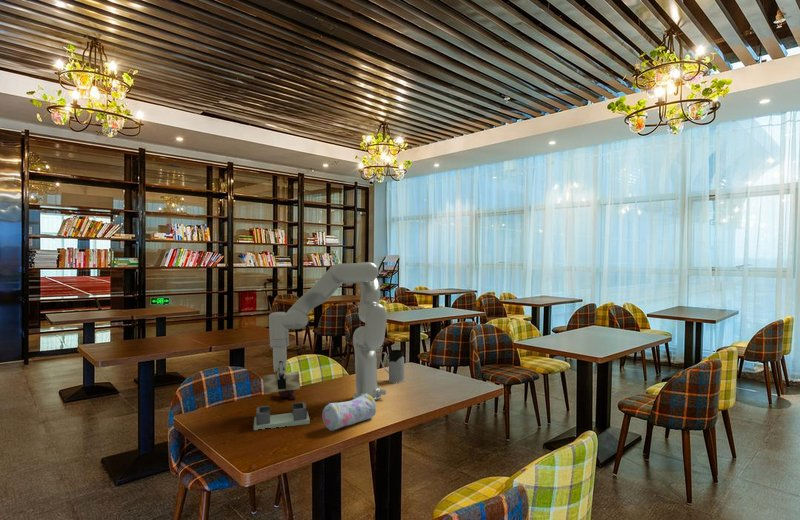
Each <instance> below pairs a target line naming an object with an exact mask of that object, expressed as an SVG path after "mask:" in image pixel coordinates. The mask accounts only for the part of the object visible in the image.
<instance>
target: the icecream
mask: <svg viewBox="0 0 800 520" xmlns="http://www.w3.org/2000/svg"><path fill="white" fill-rule="evenodd" d="M277 393H278V395H279V396H280V397H281V398H287V399H289V398H291V399H292V400H293V401H295V400H296V399H297V397H296V395H295V394H294V393H295V389H294V390H286V391H279V392H277Z"/></svg>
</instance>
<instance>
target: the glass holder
mask: <svg viewBox="0 0 800 520" xmlns="http://www.w3.org/2000/svg"><path fill="white" fill-rule="evenodd" d="M382 354H385V356H386V361H387V362H388V369H387V368H386V367H385V366H384V364H383V360H382ZM404 356H405V355H404V350H402V349H391V350H388V354H387V352H381V353H380V356H379V360H380V363H381V366H382V368H383V369H384V370H385V371H386V372H387V373H388V381H389V382H388V383H390V382H395V383H394V384H399V383H398V382H402V383H405V382H406V381H405V380H406V378H405V377H406V376H405V357H404ZM404 381H405V382H404ZM396 382H397V383H396Z"/></svg>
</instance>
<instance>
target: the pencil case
mask: <svg viewBox="0 0 800 520" xmlns="http://www.w3.org/2000/svg"><path fill="white" fill-rule="evenodd" d="M376 409H377V406H376V400H374V399H373V398H372V397H371V396H370V395H369V394H367V393H365V394H363V393H362V394H361V395H360V396H358V397H357V398H355V399H353V398H352V399H351V400H347V401H341V402H330V403H328V404H327V405H325V406H324V408H323V409H322V413H321V417H322V421H323V424H324V425H325V426H324V427H326V429H328V430H329V431H330V432H333V431H335V430H339V429H341V428H344V427H348V426H351V425H355V424H357V423H360V422H363V421H367V420H370V419H371V418H373V417H374V416H375V415H376V413H377V412H376Z"/></svg>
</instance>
